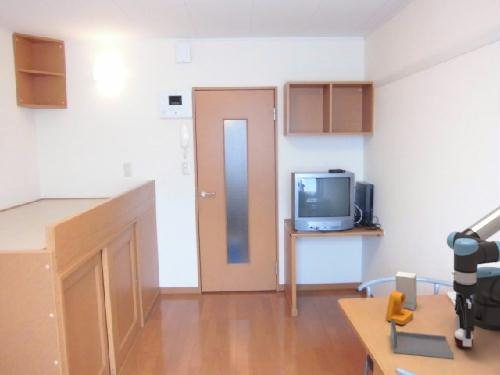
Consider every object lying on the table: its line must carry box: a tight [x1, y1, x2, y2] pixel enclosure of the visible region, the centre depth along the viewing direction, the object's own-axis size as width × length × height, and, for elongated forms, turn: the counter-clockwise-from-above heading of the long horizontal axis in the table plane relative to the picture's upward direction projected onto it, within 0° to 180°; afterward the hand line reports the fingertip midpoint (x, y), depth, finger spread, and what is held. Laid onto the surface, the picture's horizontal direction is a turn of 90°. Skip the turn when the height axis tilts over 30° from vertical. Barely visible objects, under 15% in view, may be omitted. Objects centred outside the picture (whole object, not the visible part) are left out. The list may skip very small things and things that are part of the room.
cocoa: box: [453, 310, 474, 349], centre depth 145 cm, size 10×6×12 cm, turn 142°
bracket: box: [385, 290, 414, 326], centre depth 167 cm, size 11×7×12 cm, turn 134°
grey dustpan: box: [390, 319, 455, 360], centre depth 146 cm, size 20×13×7 cm, turn 75°
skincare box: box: [395, 270, 418, 311], centre depth 179 cm, size 8×7×16 cm
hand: (463, 338), depth 145 cm, fingers closed on cocoa, 9 cm apart
